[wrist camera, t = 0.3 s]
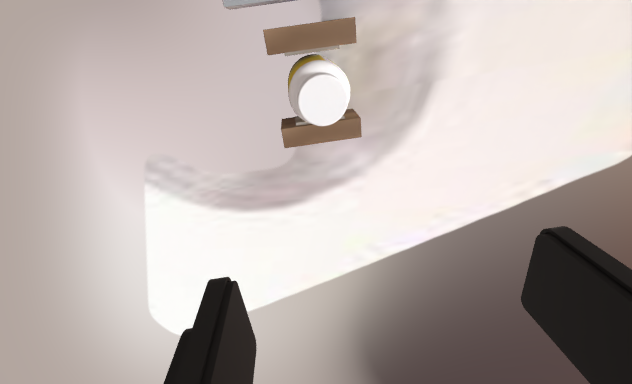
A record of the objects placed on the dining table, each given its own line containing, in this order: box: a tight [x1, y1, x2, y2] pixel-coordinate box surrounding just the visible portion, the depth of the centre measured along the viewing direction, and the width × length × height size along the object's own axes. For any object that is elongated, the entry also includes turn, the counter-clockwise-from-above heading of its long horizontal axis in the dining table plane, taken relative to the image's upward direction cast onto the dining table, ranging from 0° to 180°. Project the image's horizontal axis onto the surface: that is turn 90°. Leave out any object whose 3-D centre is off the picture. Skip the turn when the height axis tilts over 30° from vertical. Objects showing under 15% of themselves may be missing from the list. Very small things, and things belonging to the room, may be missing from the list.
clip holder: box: [263, 17, 361, 148], centre depth 30 cm, size 11×8×4 cm
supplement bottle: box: [288, 54, 350, 126], centre depth 28 cm, size 5×5×10 cm
